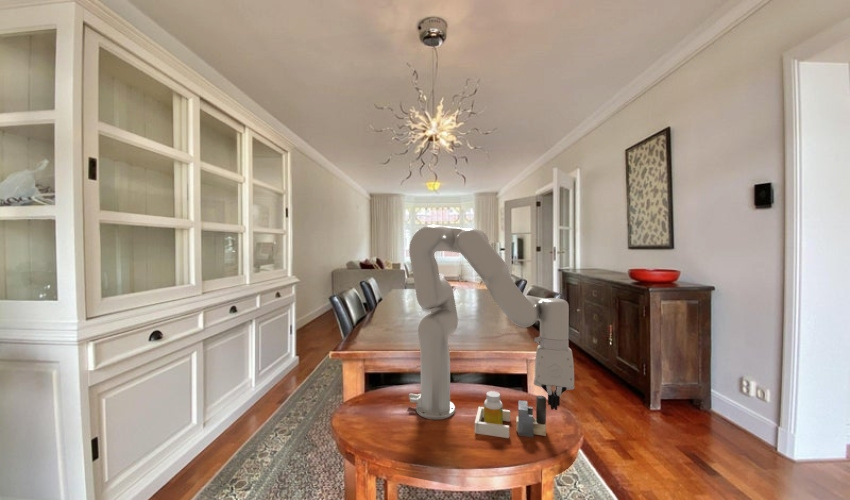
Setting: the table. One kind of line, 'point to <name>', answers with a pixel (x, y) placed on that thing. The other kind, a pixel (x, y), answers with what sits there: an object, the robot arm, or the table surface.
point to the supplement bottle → (493, 408)
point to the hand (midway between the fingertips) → (553, 407)
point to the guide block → (525, 419)
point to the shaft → (538, 417)
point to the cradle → (492, 425)
